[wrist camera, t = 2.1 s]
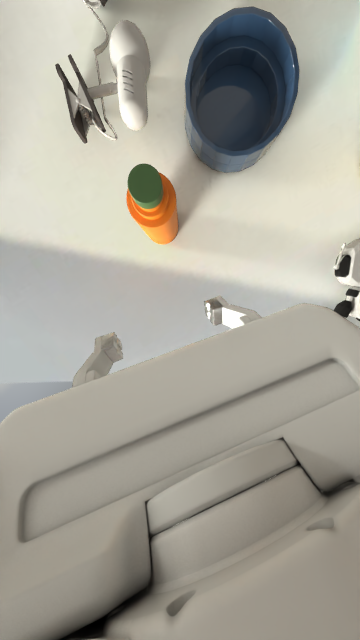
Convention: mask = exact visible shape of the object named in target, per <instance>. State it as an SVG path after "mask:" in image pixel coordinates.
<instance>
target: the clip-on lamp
mask: <svg viewBox="0 0 360 640" xmlns="http://www.w3.org/2000/svg"><path fill="white" fill-rule="evenodd" d="M82 1H83V2H84V3H85V4H86V5H87V7H88V8H89V9H90V10H91V11H92V13H93V14H94V15H95V16H96V17H97V19H98V20H99V22H100V23H101V25H102V26H103V28H104V30H105V33H106V39H105V41H104V42H103V44H101V45H100V46H99V47H97V48H95V49H94V56H95V60H96V66H97V72H98V79H99V86H95V87H91V88H87V86H86V84H85V82H84V80H83V78H82V76H81V74H80V72H79V70H78V68H77V66H76V64H75V62H74V60H73V58H72V56H71V54H70V55H68V57H69V60H70V63H71V65H72V67H73V69H74V71H75V73H76V75H77V77H78V80H79V88H78V95H76V93H75V92H74V90H73V88H72V86H71V85H70V83H69V81H68V79H67V78H66V76H65V74H64V72H63V71H62V69H61V67H60V65H59V64H56V65H55V66H56V70H57V73H58V75H59V77H60V78H61V80H62V82H63V85H64V90H65V95H66V99H67V104H68V108H69V113H70V117H71V122H72V125H73V127H74V129H75V131H76V133H77V134H78V135H79V137H80V138H81V140H82V141H83V142H84V143H87V138H86V136H87V133H88V130H89V127H90V125H92V124H93V125H94V126H96V128H97V129H98V131H99V132H100V133H101V134H103V135H104V136H106V137H107V138H109V139H111V140H117V134H116V132H115V130H114V129H113V127H112V125H111V124H110V122H109V121H108V120H107V118H106V116H105V109H104V102H103V97H105V96H109V95H113V94H117V93H118V96H119V105H120V114H121V117H122V119H123V121H124V123H125V124H126V125H127V126H128V127H129V128H130V129H132V130H134V131H139V130H141V129H143V128H144V126H145V125H146V123H147V118H148V109H147V90H146V83H147V81H148V78H149V73H150V56H149V50H148V47H147V43H146V40H145V38H144V36H143V34H142V33H141V31H140V29H139V28H138V27H137V26H136V25H135V24H134V23H132V22H130V21H128V20H122V21H120V22H118V23H117V24H116V25H115V27H114V29H113V30H112V33H111V38H110V43H109V47H110V59H111V63H112V67H113V71H114V73H115V75H116V77H117V79H116V82H117V83H115V84H114V83H113V82H111V83H107V84H103V85H101V79H100V72H99V66H98V61H97V55H99V54H100V53H102V52H103V51H104V50H105V48H106V47H107V45H108V42H109V40H108V33H107V31H106V28H105V26H104V25H103V23H102V22H101V20H100V19H99V17H98V16H97V14H96V13H95V12H94V11H93V9H92V8H94V9H95V8H99V7H100V6H101V4H102V6H105V4H106V2H107V0H98V1H97V2H90V1H89V0H82ZM91 7H92V8H91ZM96 98H101V101H102V108H103V114H104V119H105V121H106V123H107V124H108V125H109V126H110V128H111V129H112V131H113V133H114V134H115V137H116V138H113V137H111V136H109V135H107V134H106V133H104V132H106V130H105V128H104V125H103V123H102V121H101V118H100V116H99V114H98V112H97V109H96V107H95V105H94V101H93V99H96ZM88 109H89V110H90V112H89V110H88Z"/></svg>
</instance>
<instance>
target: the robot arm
mask: <svg viewBox="0 0 360 640" xmlns="http://www.w3.org/2000/svg"><path fill="white" fill-rule="evenodd" d="M204 305H205V306H206V308H205V313H206V316H207V317H208V318H209V319H210V322H211V323H212V324H213V326H215V325H218V324H221V323H222V324H224V325H227V326H229V327H231V328H233V329H231V330H228V331H225V332H223V333H220V334H217V335H214V336H212V337H209V338H206V339H204V340H201V341H198V342H195V343H193V344H190V345H187V346H185V347H182V348H179V349H176V350H174V351H171V352H168V353H166V354H163V355H160V356H158V357H155V358H152V359H149V360H147V361H144V362H141V363H139V364H136V365H133V366H130V367H128V368H125V369H122V370H120V371H117V372H114V373H111V374H109V375H108V373H109V371H110V369H111V367H112V365H113V363H114V362H116V361H119V360H121V359H123V353H122V351H121V350H122V344H121V342H120V340H119V339H118V338H117V335H116V334H115V332H113V333H110V334H106V335H103V336H100V337H97V338H96V339H95V348H94V353H92V354H91V355H90V357H89V358H88V359H87V360H86V362H85V363H84V364H83V366H82V367H81V368H80V369H79V371H78V372H77V373H76V375H75V376H74V379H73V384H72V388H71V389H68V390H66V391H63V392H60V393H57V394H55V395H52V396H49V397H46V398H44V399H41V400H38V401H36V402H33V403H30V404H27V405H24V406H21V407H19V408H17V409H15V410H14V411H13V412H11V413H10V414H9V415H8V416H7V417H6V418H5V419H4V420H3V421H2V422H1V423H0V640H360V328H359V327H357V326H356V325H354V324H353V323H351V322H350V321H348V320H347V319H345V318H344V317H342V316H341V315H339V314H338V313H336V312H335V311H333V310H331V309H329V308H327V307H322V306H318V305H313V304H307V303H302V304H298V305H295V306H293V307H290V308H287V309H285V310H282V311H279V312H277V313H274V314H271V315H269V316H266V317H263V318H262V317H261V316H260V315H259V314H258V313H257V312H255V311H253V310H249V309H246V308H242V307H238V306H235V305H229V304H228V303H227V302H226V301H225V300H224V299H223V298H222V297H221V296H218V297H215V298H212V299H210V300H207V301H204Z"/></svg>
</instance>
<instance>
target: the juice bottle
mask: <svg viewBox="0 0 360 640" xmlns="http://www.w3.org/2000/svg"><path fill="white" fill-rule="evenodd" d="M127 206H128V209H129V212H130V214H131V215H132V217H133V218H134V219H135V221H136V222H137V223H138V224H139V225H140V226H141V228H142V229H143V230H144V231H145V232H146V234H147V235H148V236H149V237H150V238H151V239H152V240H153V241H154V242H156V243H158V244H167V243H169V242H171V241H172V240H173V239H174V238H175V237H176V235H177V232H178V218H177V205H176V194H175V190H174V188H173V185H172V184H171V182H170V181H169V180H168V178H166V177H165V176H164V175H163V174H161V173H159V172H158V171H157V170H156V169H155V168H154V167H153V166H151V165H148V164H139V165H137V166H135V167H134V168H133V169H132V170H131V172H130V174H129V177H128V190H127Z"/></svg>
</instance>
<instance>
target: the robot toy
mask: <svg viewBox="0 0 360 640" xmlns="http://www.w3.org/2000/svg"><path fill="white" fill-rule="evenodd" d="M334 269H335V276H336V277H337V279H338V281H339V282H340V283H342V284H345V285H350V286H353V287H352V288H351V289H348V291H347V292H346V295H347V298H346V300H344V301H342V302H341V303H339V304H338V305H337V306H336V307H335V309H334V311H335V312H336V313H338V314H339V315H341V316H342V317H346V318H347V317H348V315H350V316H353V317H356V319H357V320H359V321H360V238H359V239H357V240H355V241H353V242H351V243H349V244H348V245H347V246H346V243H344V244H343V245H342V249H341V252H340V254H339V255H338V257H337V259H336V265H335V266H334Z"/></svg>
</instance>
